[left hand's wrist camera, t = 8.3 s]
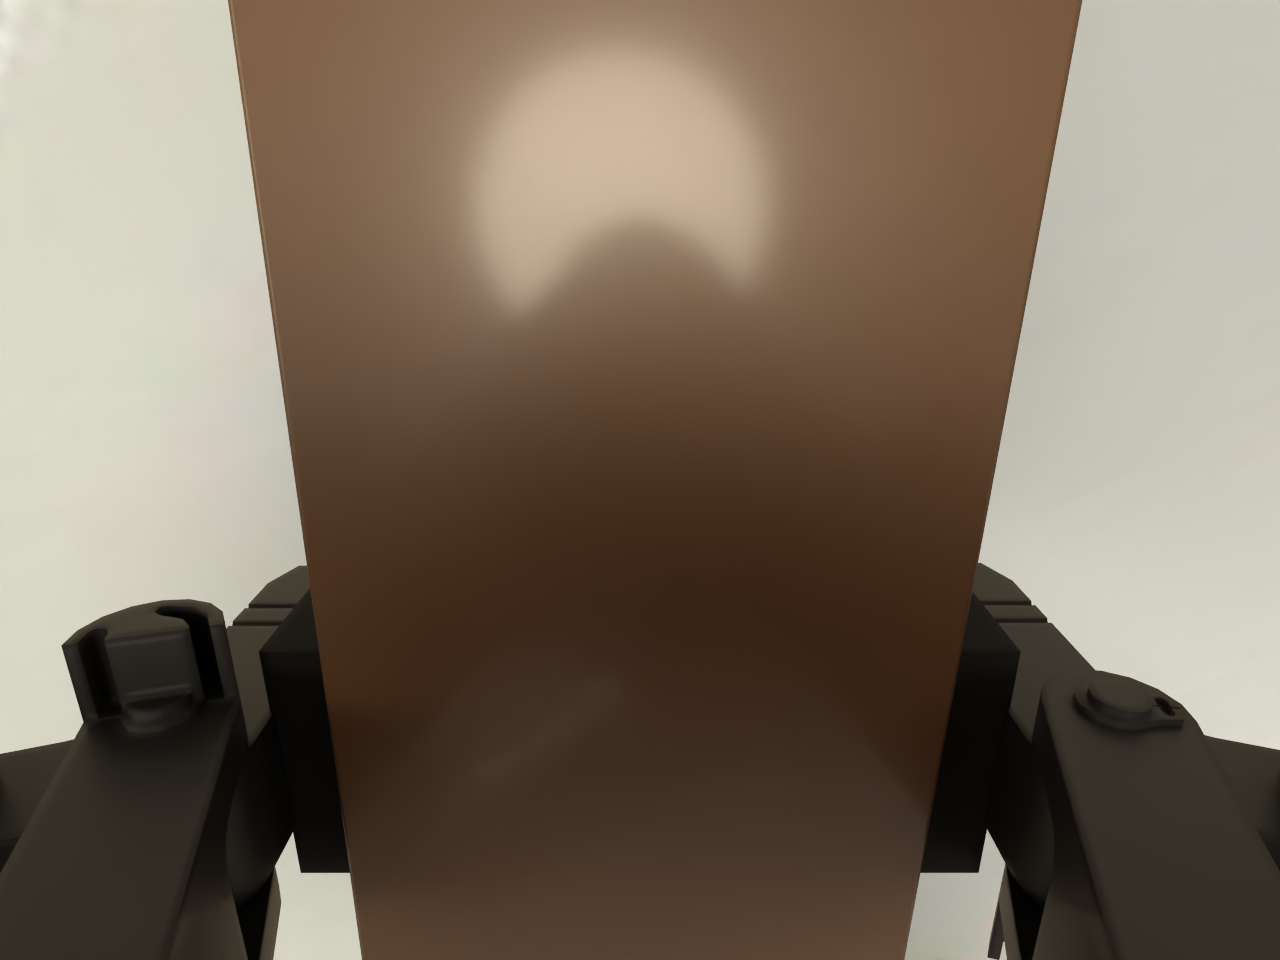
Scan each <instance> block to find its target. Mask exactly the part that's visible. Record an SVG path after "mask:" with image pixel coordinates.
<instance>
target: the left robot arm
mask: <svg viewBox="0 0 1280 960" xmlns="http://www.w3.org/2000/svg"><path fill="white" fill-rule="evenodd" d="M61 646H62V649H63V653H64V656H65V660H66V663H67V666H68V670H69V673H70V677H71V680H72V684H73V687H74V691H75V694H76V697H77V701H78V704H79V708H80V711H81V715H82V718H83V722H84V723H83V725H82V726H81V728H80V730H79V732H78V734H77V735H76V737H75V739H74V740H70V741H66V742H61V743H55V744H50V745H45V746H40V747H35V748H29V749H24V750H19V751H14V752H8V753H3V754H0V960H273V956H274V949H275V942H276V935H277V928H278V921H279V914H280V907H281V897H280V890H279V883H278V878H277V874H276V869H275V865H276V863H277V861H278V859H279V857H280V855H281V853H282V851H283V850H284V848H285V846H286V844H287V842H288V840H289V838H290V836H291V834H292V833H294V839H295V844H296V849H297V854H298V860H299V865H300V870H301V873H350V869H349V862H348V854H347V847H346V840H345V833H344V826H343V819H342V811H341V804H340V797H339V790H338V783H337V776H336V769H335V761H334V754H333V747H332V740H331V733H330V726H329V718H328V711H327V704H326V697H325V690H324V683H323V676H322V668H321V661H320V654H319V647H318V640H317V633H316V625H315V618H314V611H313V604H312V597H311V590H310V583H309V575H308V568H307V566H298V567H296V568H294V569H293V570H291V571H289V572H287V573H286V574H284V575H282V576H280V577H278V578H277V579H275V580H273V581H271V582H270V583H268V584H267V585H266V586H265V587H264V588H263V589H262V590H261V591H260V593H259V594H258V595H257V596H256V597H255V598H254V599H253V600H252V601H251V602H250V603H249V608H245V609H244V610H243V611H242V612H241V613H240V614H239V615H238V616H237V618H236V619H235V620H234V621H233V626H228V627H227V628H226V626H225V621H224V616H223V612H222V611H221V610H220V609H218V608H217V607H215V606H214V605H212V604H211V603H207V602H202V601H196V600H190V599H186V600H163V601H157V602H152V603H147V604H142V605H137V606H132V607H129V608H126V609H124V610H121V611H118V612H115V613H112V614H109V615H106V616H104V617H101V618H100V619H98V620H96V621H94V622H92V623H90V624H89V625H87V626H85V627H83V628H81V629H79V630H78V631H76V632H75V633H74V634H73V635H72V636H71V637H70V638H69V639H68V640H67V641H66V642H65V643H64V644H63V645H61ZM987 829H988V831H989V833H990V835H991V837H992V839H993V841H994V842H995V844H996V846H997V848H998V850H999V852H1000V854H1001V855H1002V857H1003V859H1004V861H1005V863H1006V864H1005V869H1004V874H1003V878H1002V883H1001V888H1000V893H999V898H998V903H997V908H996V912H995V917H994V922H993V927H992V932H991V937H990V943H989V950H988V957H989V958H993V959H997V960H999V958H1000V954H1001V949H1002V944H1003V942H1004V941H1005V947H1006V954H1007V960H1280V750H1276V749H1271V748H1266V747H1260V746H1255V745H1250V744H1245V743H1239V742H1234V741H1229V740H1224V739H1218V738H1214V737H1210V736H1206V735H1204V734H1203V732H1202V730H1201V729H1200V727H1199V725H1198V723H1197V721H1196V720H1195V719H1194V718H1193V717H1192V716H1191V715H1190V713H1189V712H1188V711H1187V710H1186V709H1185V708H1184V707H1183V705H1182V704H1180V703H1179V702H1177V701H1176V700H1174V699H1172V698H1171V697H1169V696H1168V695H1166V694H1165V693H1163V692H1162V691H1160V690H1159V689H1156V688H1154V687H1152V686H1149V685H1147V684H1144V683H1142V682H1139V681H1137V680H1135V679H1132V678H1129V677H1125V676H1121V675H1117V674H1112V673H1108V672H1104V671H1095V669H1094V668H1093V667H1092V666H1091V665H1090V664H1089V663H1088V662H1087V661H1086V660H1085V659H1084V658H1083V657H1082V655H1081V654H1080V653H1079V652H1078V651H1077V650H1076V649H1075V648H1074V647H1073V646H1072V645H1071V644H1070V642H1069V641H1068V640H1067V639H1066V638H1065V637H1064V636H1063V635H1062V634H1061V633H1060V632H1059V631H1058V630H1057V628H1056V627H1055V626H1054V625H1053V624H1052V623H1048V622H1047V618H1046V617H1045V616H1044V614H1043V613H1042V612H1041V611H1040V610H1039V609H1038V608H1037V607H1036V606H1035V605H1031V600H1030V599H1029V598H1028V597H1027V596H1026V595H1025V594H1024V593H1023V592H1022V591H1021V590H1020V589H1019V587H1018V586H1017V585H1016V584H1015V583H1014V582H1013V581H1012V580H1010V579H1008V578H1007V577H1005V576H1003V575H1001V574H999V573H998V572H996V571H994V570H992V569H990V568H989V567H987V566H985V565H983V564H982V563H978V564H977V570H976V575H975V580H974V586H973V591H972V597H971V602H970V607H969V613H968V618H967V623H966V629H965V634H964V640H963V645H962V650H961V656H960V661H959V667H958V672H957V677H956V683H955V688H954V693H953V699H952V704H951V710H950V715H949V720H948V726H947V731H946V737H945V742H944V747H943V753H942V758H941V763H940V769H939V774H938V780H937V785H936V790H935V796H934V801H933V807H932V812H931V817H930V823H929V828H928V833H927V839H926V844H925V850H924V855H923V860H922V866H921V871H920V873H979V867H980V862H981V857H982V852H983V846H984V841H985V836H986V831H987Z"/></svg>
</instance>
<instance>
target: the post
mask: <svg viewBox="0 0 1280 960" xmlns="http://www.w3.org/2000/svg"><path fill="white" fill-rule="evenodd" d="M228 3H229V10H230V17H231V25H232V32H233V39H234V46H235V53H236V60H237V68H238V75H239V82H240V89H241V96H242V103H243V110H244V118H245V125H246V132H247V139H248V146H249V153H250V161H251V168H252V175H253V182H254V189H255V196H256V203H257V211H258V218H259V225H260V232H261V239H262V246H263V254H264V261H265V268H266V275H267V282H268V289H269V296H270V304H271V311H272V318H273V325H274V332H275V339H276V347H277V354H278V361H279V368H280V375H281V382H282V389H283V397H284V404H285V411H286V418H287V425H288V432H289V440H290V447H291V454H292V461H293V468H294V475H295V482H296V490H297V497H298V504H299V511H300V518H301V525H302V532H303V540H304V547H305V554H306V561H307V568H308V575H309V583H310V590H311V597H312V604H313V611H314V618H315V625H316V633H317V640H318V647H319V654H320V661H321V668H322V676H323V683H324V690H325V697H326V704H327V711H328V718H329V726H330V733H331V740H332V747H333V754H334V761H335V769H336V776H337V783H338V790H339V797H340V804H341V811H342V819H343V826H344V833H345V840H346V847H347V854H348V862H349V869H350V876H351V883H352V890H353V897H354V904H355V912H356V919H357V926H358V933H359V940H360V947H361V955H362V960H904V957H905V952H906V947H907V941H908V936H909V930H910V925H911V920H912V914H913V909H914V903H915V898H916V893H917V887H918V882H919V877H920V871H921V866H922V860H923V855H924V850H925V844H926V839H927V833H928V828H929V823H930V817H931V812H932V807H933V801H934V796H935V790H936V785H937V780H938V774H939V769H940V763H941V758H942V753H943V747H944V742H945V737H946V731H947V726H948V720H949V715H950V710H951V704H952V699H953V693H954V688H955V683H956V677H957V672H958V667H959V661H960V656H961V650H962V645H963V640H964V634H965V629H966V623H967V618H968V613H969V607H970V602H971V597H972V591H973V586H974V580H975V575H976V570H977V564H978V559H979V553H980V548H981V543H982V537H983V532H984V527H985V521H986V516H987V510H988V505H989V500H990V494H991V489H992V484H993V478H994V473H995V467H996V462H997V457H998V451H999V446H1000V440H1001V435H1002V430H1003V424H1004V419H1005V414H1006V408H1007V403H1008V397H1009V392H1010V387H1011V381H1012V376H1013V370H1014V365H1015V360H1016V354H1017V349H1018V343H1019V338H1020V333H1021V327H1022V322H1023V317H1024V311H1025V306H1026V300H1027V295H1028V290H1029V284H1030V279H1031V273H1032V268H1033V263H1034V257H1035V252H1036V247H1037V241H1038V236H1039V230H1040V225H1041V220H1042V214H1043V209H1044V204H1045V198H1046V193H1047V187H1048V182H1049V177H1050V171H1051V166H1052V160H1053V155H1054V150H1055V144H1056V139H1057V134H1058V128H1059V123H1060V117H1061V112H1062V107H1063V101H1064V96H1065V90H1066V85H1067V80H1068V74H1069V69H1070V64H1071V58H1072V53H1073V47H1074V42H1075V37H1076V31H1077V26H1078V20H1079V15H1080V10H1081V4H1082V0H228Z"/></svg>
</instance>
